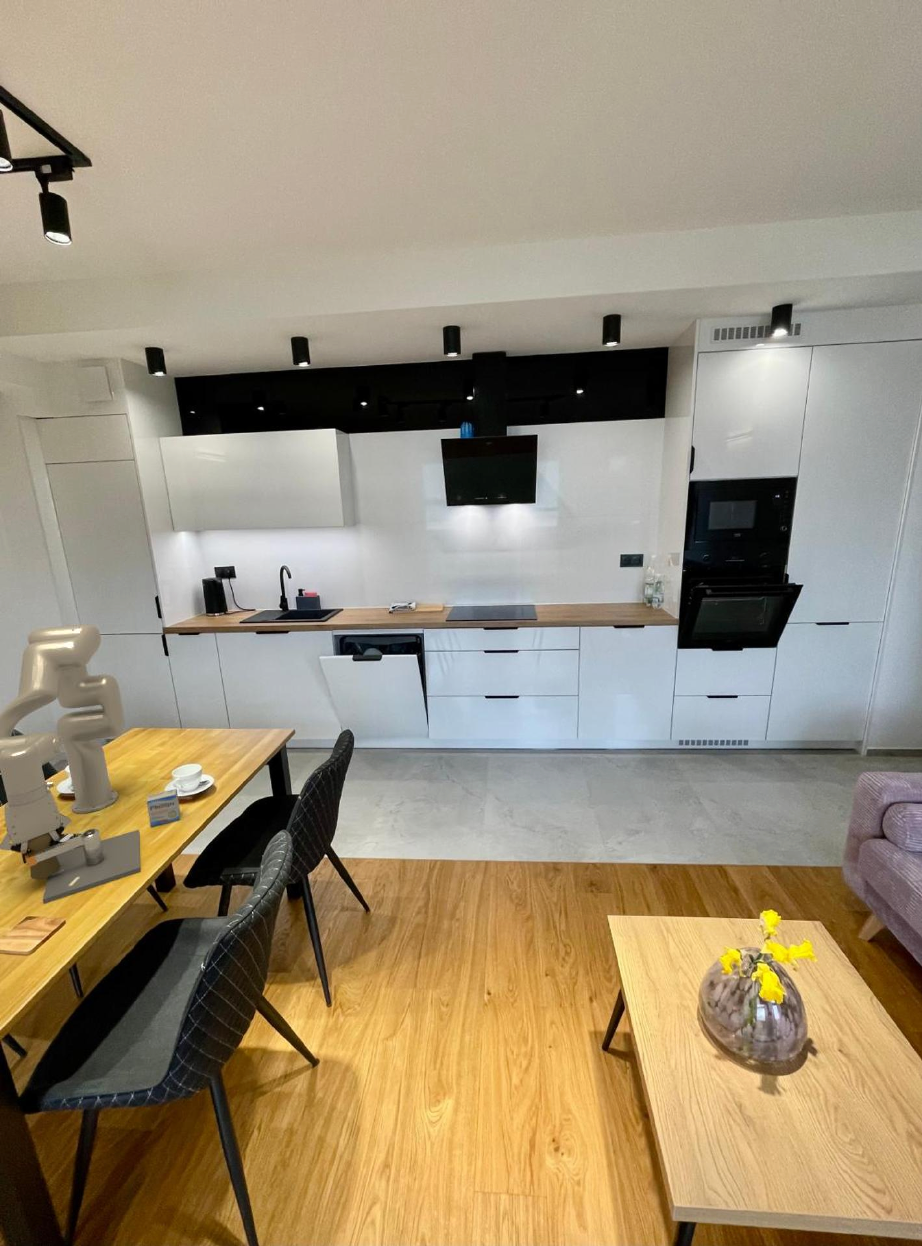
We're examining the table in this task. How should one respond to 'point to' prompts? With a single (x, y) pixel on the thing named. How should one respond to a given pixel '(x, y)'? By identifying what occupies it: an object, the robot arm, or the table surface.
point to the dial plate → (94, 867)
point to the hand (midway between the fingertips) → (42, 857)
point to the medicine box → (163, 808)
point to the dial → (87, 840)
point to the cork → (45, 866)
